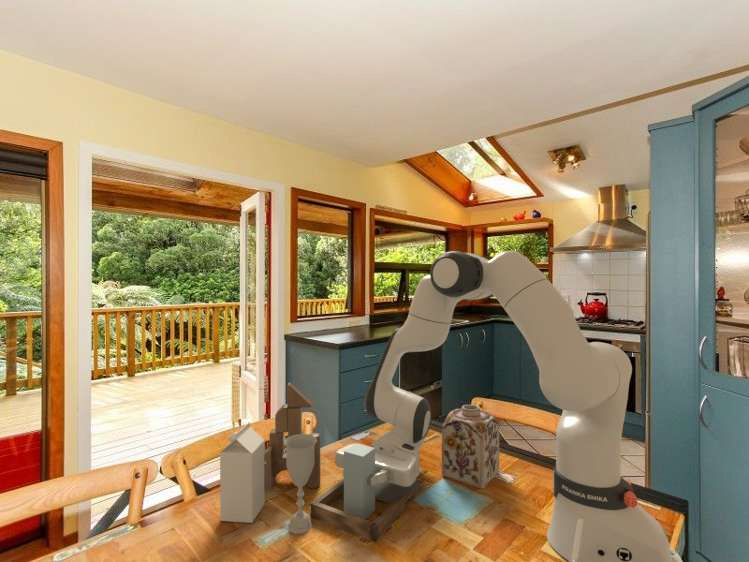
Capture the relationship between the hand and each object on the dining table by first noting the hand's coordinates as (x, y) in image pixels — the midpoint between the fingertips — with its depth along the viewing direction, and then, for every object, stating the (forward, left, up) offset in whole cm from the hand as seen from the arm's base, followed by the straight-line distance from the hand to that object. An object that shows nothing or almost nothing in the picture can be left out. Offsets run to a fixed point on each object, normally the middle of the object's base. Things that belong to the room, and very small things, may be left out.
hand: (357, 478), depth 88 cm
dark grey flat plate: (0, -13, -8) cm, 15 cm away
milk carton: (+22, +13, -8) cm, 27 cm away
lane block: (0, -1, -8) cm, 8 cm away
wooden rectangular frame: (0, 0, -8) cm, 8 cm away
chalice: (+8, +10, -8) cm, 15 cm away
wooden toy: (+22, -2, -8) cm, 24 cm away
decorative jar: (-16, -30, -8) cm, 35 cm away
